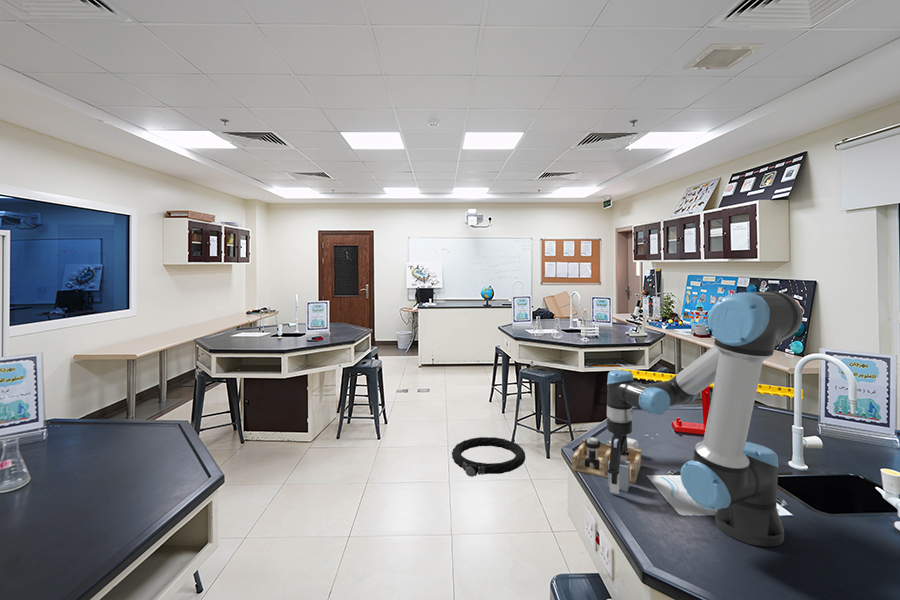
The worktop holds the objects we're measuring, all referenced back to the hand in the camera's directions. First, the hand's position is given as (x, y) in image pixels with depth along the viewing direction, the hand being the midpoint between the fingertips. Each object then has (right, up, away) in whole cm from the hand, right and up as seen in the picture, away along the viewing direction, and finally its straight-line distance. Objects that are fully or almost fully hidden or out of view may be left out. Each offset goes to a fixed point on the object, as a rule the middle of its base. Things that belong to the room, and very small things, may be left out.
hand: (618, 483), depth 140 cm
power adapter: (+11, +1, +25) cm, 28 cm away
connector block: (0, -1, 0) cm, 1 cm away
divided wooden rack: (+1, 0, +13) cm, 13 cm away
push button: (-5, 0, +12) cm, 13 cm away
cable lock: (-41, -1, +21) cm, 46 cm away
